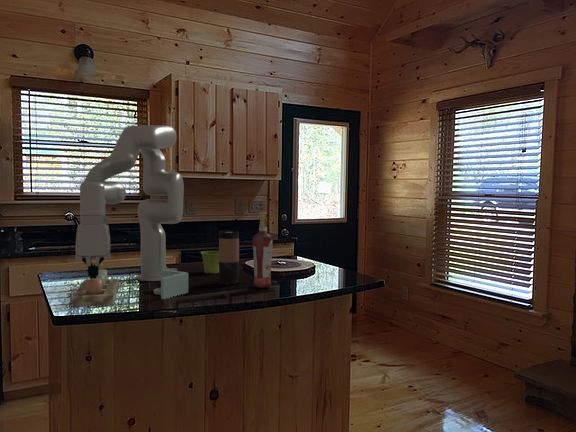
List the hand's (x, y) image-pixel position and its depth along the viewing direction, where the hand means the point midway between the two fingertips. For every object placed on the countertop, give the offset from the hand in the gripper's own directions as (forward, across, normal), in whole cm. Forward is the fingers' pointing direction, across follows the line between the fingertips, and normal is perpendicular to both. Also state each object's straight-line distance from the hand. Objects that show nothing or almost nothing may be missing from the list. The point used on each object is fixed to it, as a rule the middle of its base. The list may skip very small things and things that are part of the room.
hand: (93, 277), depth 156 cm
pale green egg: (+6, 0, -8) cm, 10 cm away
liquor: (+8, -57, -10) cm, 59 cm away
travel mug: (+7, -46, -20) cm, 51 cm away
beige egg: (+5, 0, -16) cm, 17 cm away
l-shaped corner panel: (+8, -22, -8) cm, 25 cm away
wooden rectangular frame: (+8, 0, -8) cm, 12 cm away
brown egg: (+6, 0, 0) cm, 6 cm away
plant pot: (+7, -42, -42) cm, 60 cm away
